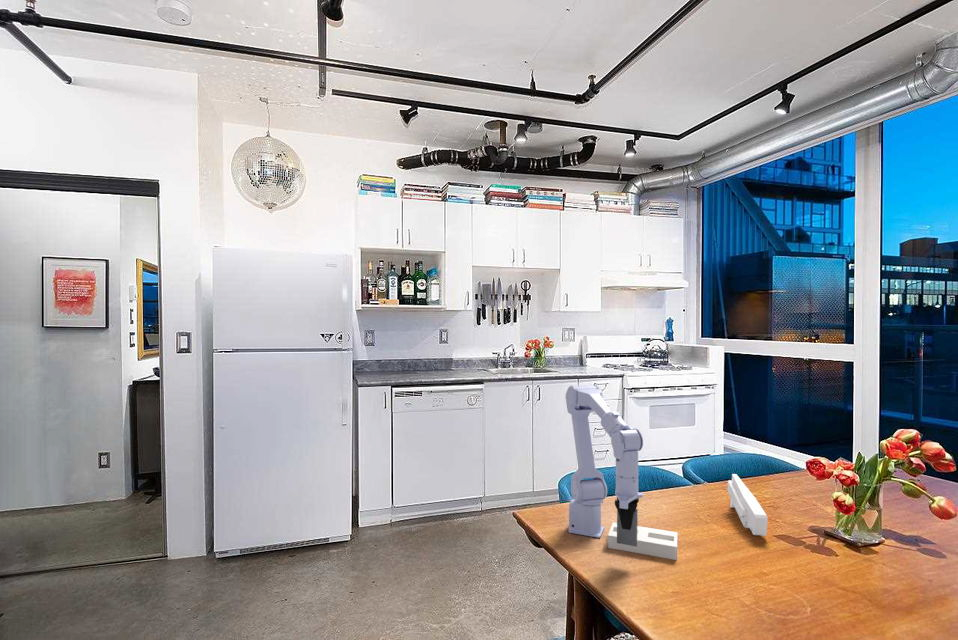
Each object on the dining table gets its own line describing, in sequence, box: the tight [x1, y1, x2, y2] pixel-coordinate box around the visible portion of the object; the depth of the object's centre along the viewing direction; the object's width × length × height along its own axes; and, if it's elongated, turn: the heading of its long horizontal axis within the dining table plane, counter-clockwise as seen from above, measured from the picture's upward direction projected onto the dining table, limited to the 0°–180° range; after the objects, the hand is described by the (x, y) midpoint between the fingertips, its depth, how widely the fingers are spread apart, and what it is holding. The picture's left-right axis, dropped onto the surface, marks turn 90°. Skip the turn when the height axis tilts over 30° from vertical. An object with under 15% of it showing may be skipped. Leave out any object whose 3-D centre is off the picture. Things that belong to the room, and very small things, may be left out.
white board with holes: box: [607, 521, 679, 561], centre depth 136 cm, size 18×10×4 cm, turn 67°
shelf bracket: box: [726, 473, 769, 537], centre depth 153 cm, size 6×25×13 cm, turn 169°
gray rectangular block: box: [616, 508, 639, 547], centre depth 127 cm, size 5×2×9 cm, turn 67°
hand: (627, 527), depth 127 cm, fingers closed on gray rectangular block, 2 cm apart
